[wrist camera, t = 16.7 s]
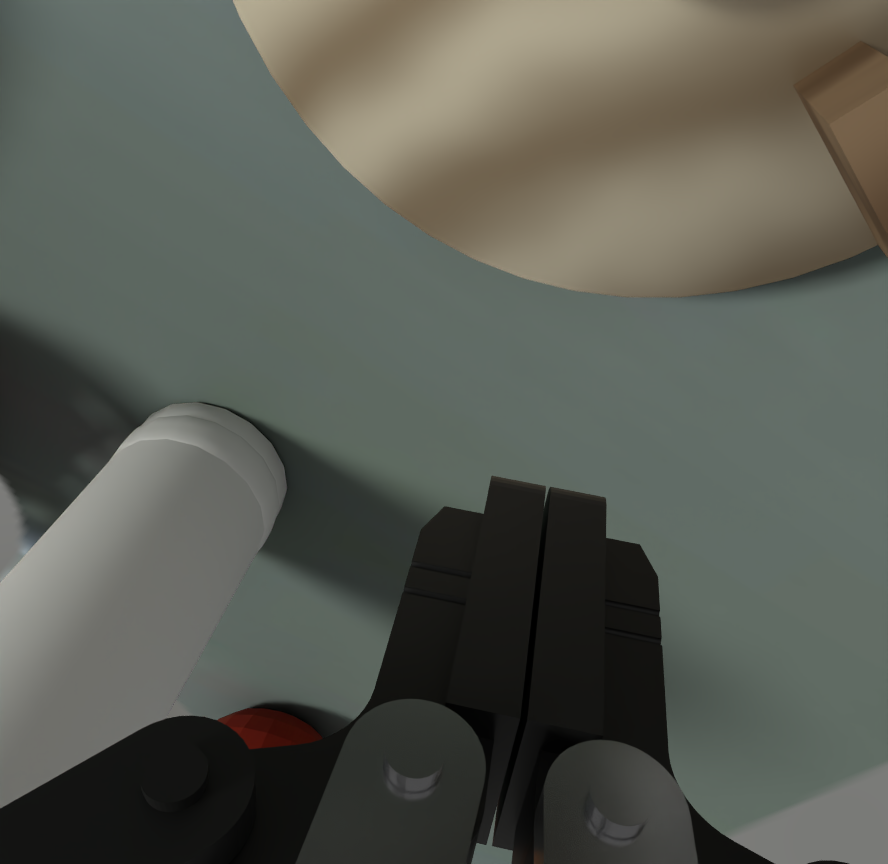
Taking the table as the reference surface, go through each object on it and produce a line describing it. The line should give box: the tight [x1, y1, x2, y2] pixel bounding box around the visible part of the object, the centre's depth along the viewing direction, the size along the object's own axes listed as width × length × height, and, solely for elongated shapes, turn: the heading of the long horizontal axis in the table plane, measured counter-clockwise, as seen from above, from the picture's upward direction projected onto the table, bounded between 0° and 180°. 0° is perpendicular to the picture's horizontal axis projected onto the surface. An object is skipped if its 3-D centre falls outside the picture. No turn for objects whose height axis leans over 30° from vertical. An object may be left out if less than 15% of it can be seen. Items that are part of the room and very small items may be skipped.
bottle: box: [0, 402, 287, 808], centre depth 28 cm, size 8×8×30 cm
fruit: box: [217, 708, 323, 749], centre depth 47 cm, size 10×10×10 cm
